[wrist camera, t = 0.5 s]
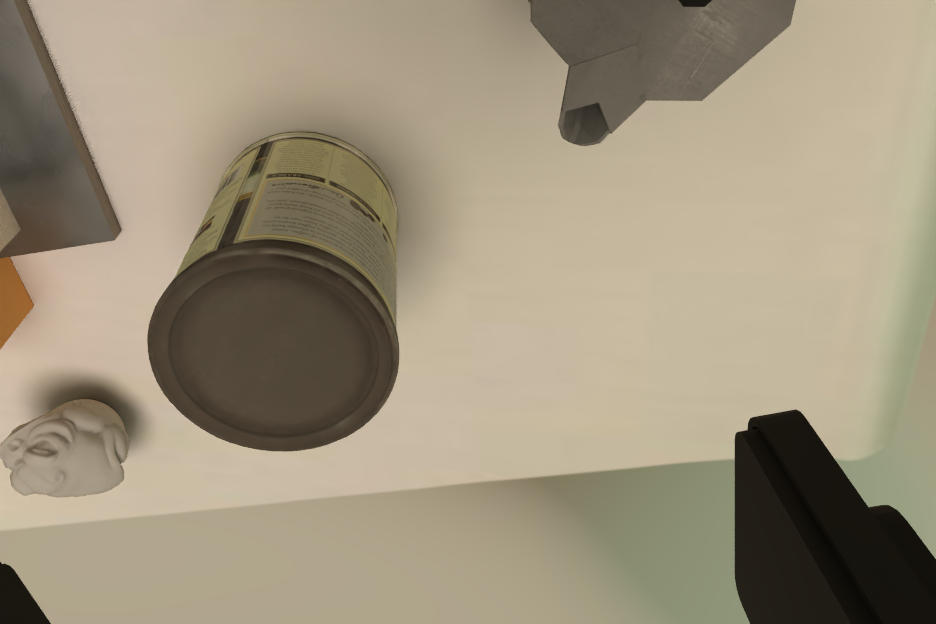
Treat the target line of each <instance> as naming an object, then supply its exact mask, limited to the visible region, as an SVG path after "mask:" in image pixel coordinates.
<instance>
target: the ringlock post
mask: <svg viewBox="0 0 936 624" xmlns="http://www.w3.org/2000/svg"><path fill="white" fill-rule="evenodd" d="M120 232H121V228H120V226H119V223H118V221H117V219H116V216H115V214H114V211H113V209H112V207H111V204H110V202H109V199H108V197H107V194H106V192H105V190H104V187H103V185H102V182H101V180H100V178H99V175H98V173H97V170H96V168H95V165H94V163H93V161H92V158H91V156H90V153H89V151H88V149H87V146H86V144H85V141H84V139H83V136H82V134H81V132H80V129H79V127H78V124H77V122H76V120H75V117H74V115H73V112H72V110H71V107H70V105H69V103H68V100H67V98H66V95H65V93H64V90H63V88H62V86H61V83H60V81H59V78H58V76H57V74H56V71H55V69H54V66H53V64H52V61H51V59H50V57H49V54H48V52H47V49H46V47H45V45H44V42H43V40H42V37H41V35H40V32H39V30H38V28H37V25H36V23H35V20H34V18H33V16H32V13H31V11H30V8H29V6H28V3H27V1H26V0H0V258H5V257H11V256H18V255H24V254H30V253H37V252H43V251H49V250H56V249H62V248H68V247H75V246H81V245H87V244H94V243H100V242H106V241H113V240H115V239H116V238H117V236H118V235H119V233H120Z"/></svg>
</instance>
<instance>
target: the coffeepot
mask: <svg viewBox="0 0 936 624" xmlns="http://www.w3.org/2000/svg"><path fill="white" fill-rule="evenodd" d="M528 1H529V2H530V3H531V22H532V24H533V25H534V26H535V27H536V28H537V30H538V31H539V32H540V33H541V34H542V36H543V37H544V38H545V39H546V40H547V42H548V43H549V44H550V45H551V46H552V47H553V49H554V50H555V51H556V52H557V53H558V54H559V55H560V57H561V58H562V59H563V60H564V61H565V62H566V63H567V64H568V65H569V70H568V75H567V80H566V86H565V91H564V97H563V102H562V107H561V113H560V118H559V124H558V126H559V129H560V133H561V136H562V137H563V139H565V140H567V141H568V142H571V143H573V144H577V145H580V146H588V145H594V144H598V143H600V142H601V141H602V140H603V139H604V138H605V137H606V136H607V135H608V134H609V133H612V132H613V131H614V130H616V129H617V128H618V127H619V126H620V125H621V124H622V123H623V122H624V121H625V120H626V119H627V118H628V117H629V116H630V115H631V114H632V113H633V112H634V111H636V110H637V109H638V108H639V107H640V106H641V105H642V104H643V103H644V102H645V101H646V100H675V101H702V100H703V99H704V98H705V97H707V96H708V95H709V94H710V93H711V92H713V91H714V90H715V89H716V88H717V87H718V86H720V85H721V84H722V83H723V82H724V81H725V80H727V79H728V78H729V77H730V76H731V75H732V74H734V73H735V72H736V71H737V70H738V69H739V68H741V67H742V66H743V65H744V64H745V63H746V62H748V61H749V60H750V59H751V58H752V57H753V56H755V55H756V54H757V53H758V52H759V51H760V50H762V49H763V48H764V47H765V46H766V45H767V44H769V43H770V42H771V41H772V40H773V39H775V38H776V37H777V36H778V35H779V34H780V33H782V32H783V31H784V30H785V29H786V28H787V27H789V26H790V24H791V20H792V15H793V11H794V6H795V2H796V0H528Z"/></svg>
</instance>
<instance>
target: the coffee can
mask: <svg viewBox="0 0 936 624" xmlns="http://www.w3.org/2000/svg"><path fill="white" fill-rule="evenodd" d="M397 228H398V214H397V206H396V202H395V198H394V195H393V193H392V190H391V188H390V186H389V184H388V182H387V180H386V178H385V177H384V175H383V174H382V172H381V170H380V169H379V168H378V167H377V166H376V165H375V164H374V163H373V162H372V161H371V160H370V159H369V158H368V157H367V156H365V155H364V154H363V153H362V152H360V151H359V150H358V149H356V148H354V147H353V146H351V145H349V144H347V143H345V142H343V141H341V140H338V139H335V138H333V137H329V136H325V135H321V134H317V133H303V132H293V133H283V134H279V135H275V136H271V137H268V138H266V139H263V140H261V141H259V142H257V143H255V144H253V145H252V146H250V147H248V148H246V149H245V150H244V151H243V152H242V153H241V154H240V155H239V156H238V157H237V158H236V159H235V160H234V161H233V162H232V164H231V165H230V166H229V167H228V169H227V171H226V172H225V174H224V176H223V178H222V180H221V183H220V186H219V189H218V192H217V194H216V195H215V197H214V199H213V202H212V203H211V205H210V207H209V209H208V211H207V214H206V216H205V218H204V220H203V222H202V224H201V226H200V228H199V230H198V232H197V234H196V236H195V238H194V240H193V242H192V244H191V246H190V248H189V250H188V252H187V253H186V255H185V257H184V259H183V262H182V264H181V266H180V268H179V270H178V272H177V274H176V276H175V278H174V280H173V281H172V282H171V283H170V285H169V286H168V287H167V289H166V290H165V292H164V293H163V295H162V296H161V298H160V299H159V301H158V303H157V305H156V306H155V309H154V312H153V314H152V317H151V320H150V324H149V329H148V353H149V360H150V363H151V367H152V371H153V373H154V376H155V378H156V381H157V383H158V384H159V386H160V388H161V390H162V391H163V393H164V394H165V396H166V397H167V398H168V399H169V401H170V402H171V403H172V404H173V405H174V406H175V407H176V408H177V409H178V410H179V411H180V412H181V413H182V414H183V415H184V416H185V417H186V418H188V419H189V420H190V421H192V422H193V423H194V424H196V425H197V426H199V427H200V428H202V429H203V430H205V431H207V432H208V433H210V434H212V435H214V436H216V437H218V438H220V439H223V440H225V441H228V442H230V443H234V444H237V445H240V446H243V447H248V448H253V449H259V450H267V451H299V450H306V449H312V448H317V447H321V446H324V445H327V444H330V443H333V442H335V441H337V440H340V439H342V438H345V437H347V436H349V435H350V434H352V433H354V432H355V431H357V430H358V429H360V428H361V427H363V426H364V425H365V424H366V423H367V422H369V421H370V420H371V419H372V418H373V417H374V416H375V415H376V414H377V413H378V411H379V410H380V409H381V408H382V406H383V405H384V404H385V402H386V401H387V399H388V397H389V395H390V393H391V391H392V389H393V386H394V383H395V380H396V377H397V373H398V366H399V343H398V336H397V331H396V272H397V271H396V235H397Z"/></svg>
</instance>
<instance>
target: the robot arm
mask: <svg viewBox="0 0 936 624" xmlns="http://www.w3.org/2000/svg"><path fill="white" fill-rule="evenodd" d="M735 581H736V586H737V591H738V595H739V598H740V601H741V603H742V606H743V608H744V611H745V613H746V615H747V617H748V620H749V622H750V624H936V559H935V558H934V556H933V555H932V554H931V553H930V551H929V550H928V548H927V547H926V546H925V545H924V543H923V542H922V540H921V539H920V538H919V536H918V535H917V534H916V532H915V531H914V530H913V528H912V527H911V526H910V524H909V523H908V522H907V520H906V519H905V518H904V517H903V516H902V515H901V514H900V513H899V512H898V510H896V509H894V508H893V507H891V506H889V505H880V506H874V507H869V508H868V506H867V505H866V503H865V502H864V501H863V499H862V498H861V496H860V495H859V493H858V492H857V490H856V489H855V488H854V486H853V485H852V483H851V482H850V481H849V479H848V478H847V476H846V475H845V473H844V472H843V470H842V469H841V468H840V466H839V465H838V463H837V462H836V461H835V459H834V458H833V456H832V455H831V453H830V452H829V451H828V449H827V448H826V446H825V445H824V443H823V442H822V441H821V439H820V438H819V436H818V435H817V433H816V432H815V431H814V429H813V428H812V426H811V425H810V423H809V422H808V421H807V419H806V418H805V417H804V415H803V414H802V413H801V412H800V411H798V410H791V411H785V412H780V413H774V414H769V415H763V416H758V417H753V418H750V420H749V422H748V430H747V431H741V432H737V433H736V435H735ZM0 624H51V623H50V622H49V620H48V619H47V618H46V616H45V615H44V613H43V612H42V610H41V609H40V607H39V606H38V605H37V603H36V602H35V600H34V599H33V597H32V596H31V594H30V593H29V591H28V590H27V588H26V587H25V585H24V584H23V582H22V581H21V580H20V578H19V577H18V575H17V574H16V572H15V571H14V570H13V569H12V568H11V566H9V565H6V564H2V563H1V562H0Z"/></svg>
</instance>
